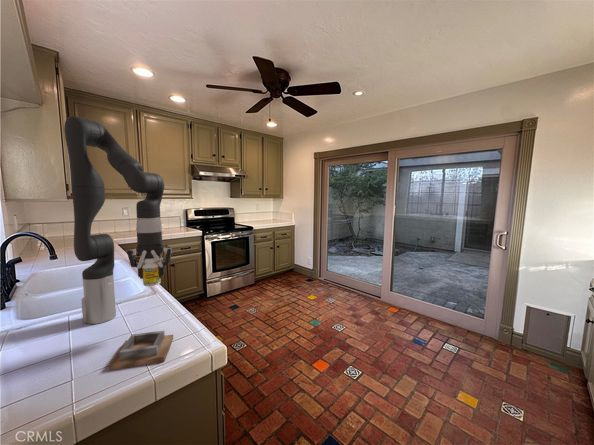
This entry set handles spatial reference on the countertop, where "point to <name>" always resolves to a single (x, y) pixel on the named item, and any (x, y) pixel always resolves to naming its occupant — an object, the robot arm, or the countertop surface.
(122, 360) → the socket stand
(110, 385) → the countertop surface
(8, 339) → the countertop surface
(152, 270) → the supplement bottle
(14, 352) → the countertop surface
